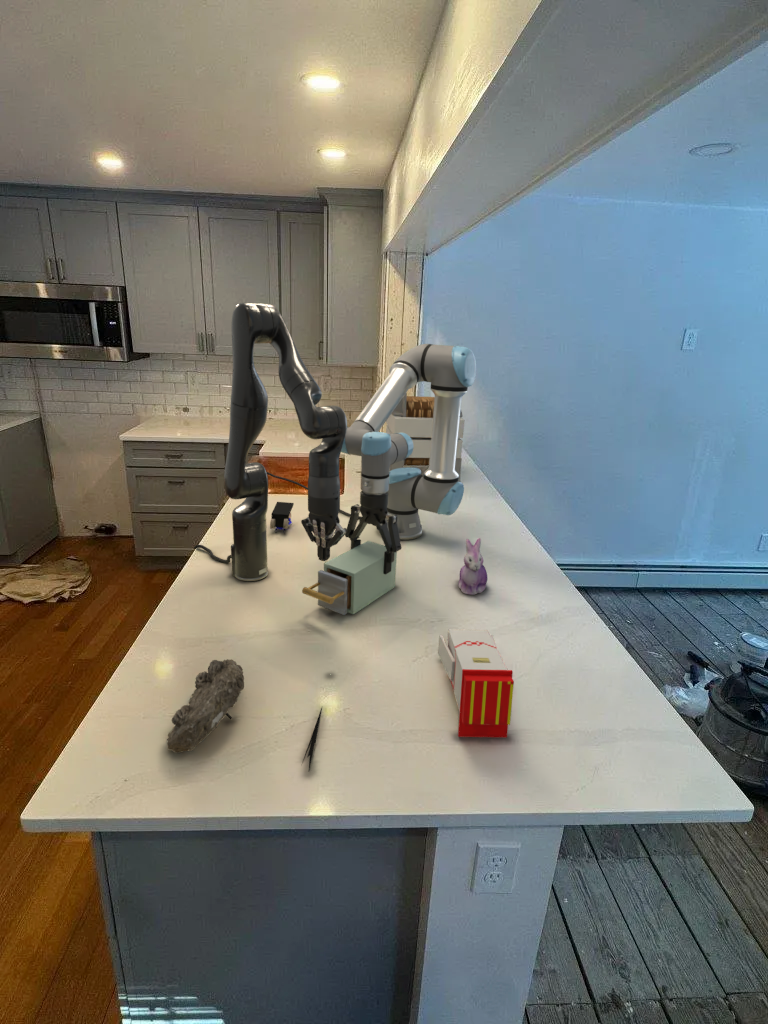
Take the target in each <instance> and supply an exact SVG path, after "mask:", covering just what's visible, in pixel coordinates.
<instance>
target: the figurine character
mask: <svg viewBox="0 0 768 1024" xmlns="http://www.w3.org/2000/svg"><path fill="white" fill-rule="evenodd" d="M293 508H294V502H287V501H285V502H284V501H276V504H275V505H274V508H273V510H272V512H271V515H270V516H271V518H270V520H269V521H270V522H269V529H272V530H274V533H276V534H277V533H278V530H280V531H282V534H285V533H286V531H287V530H288V529H289V528H290V525H292V511H293Z"/></svg>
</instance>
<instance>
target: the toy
mask: <svg viewBox="0 0 768 1024" xmlns="http://www.w3.org/2000/svg"><path fill="white" fill-rule="evenodd" d="M446 640H447V643H446V641H445V639H444V636H443V635H442V634H439V637H438V646H437V656H438V657H439V659H440V661H441V663H442V666H443V668H444V670H445V672H446V674H447V677H448V679H449V681H450V684H451V687H452V690H453V693H454V697H455V701H456V705H457V708H458V711H459V714H458V715H459V716H458V730H457V731H458V732H457V737H458V738H508V731H509V726H510V725H511V717H512V707H513V697H514V696H513V695H514V684H515V680H514V679H513V673H514V671H513V670H512V669H508V667H507V665H506V662H505V661H504V659H503V658H502V655H501V653H500V651H499V649H498V647H497V643H496V639H495V637H494V635H493V634H491V632H490V631H489V629H467V628H466V629H465V628H463V629H461V628H460V629H459V628H448V630H447V639H446Z"/></svg>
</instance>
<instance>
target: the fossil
mask: <svg viewBox="0 0 768 1024" xmlns="http://www.w3.org/2000/svg"><path fill="white" fill-rule="evenodd" d="M243 670H244V669H243V667H242V665H240V664H237V662H236V661H235V660H234V659H232V658H231V659H227V658H226V659H224V660H223V661H222V660H217V659H212V660H211V661H210V663H209V665H208V666H207V671H201V672H199V673H198V674H197V675H196V676H195V680H194V684H195V685H194V687H195V689H194V690H193V693H192V694H191V697H190V698H189V700H188V704H184V705H182V706H181V707H180V709H177V710H176V711H175V713H174V715H173V716H172V718H171V723H172V724H173V727H172V730H171V731H170V732H168V734H167V738H166V741H167V742H166V745H167V749H168V750H169V751H173V752H174V753H176V754H178V753H182V752H188V751H189V752H192V751H193V750H195V748H196V747H197V746H199V744H200V743H201V742H203V741H204V740H205V739H206V738H207V737H208V736H209V735H210V734H211V733H212V732H214V730H215V729H217V727H218V726H219V724H220V722H221V721H222V720H223V719H224V718H225V716H226V717H227V719H229V720H233V717H232V715H230V714H229V710H230V709H231V708H234V706H235V704H236V703H237V702H238V699H239V697H240V695H241V693H242V691H243V690H245V689H244V688H245V675H244V671H243Z"/></svg>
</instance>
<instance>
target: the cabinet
mask: <svg viewBox="0 0 768 1024" xmlns="http://www.w3.org/2000/svg"><path fill="white" fill-rule="evenodd" d="M385 551H387V549H386V547H385V544H381V543H377V542H374V541H371V540H367V541H364V542H363V543H361V545H359V546H357V547H355V548H353V549H351V548H350V549H349V550H347V551H345V552H343V553H341V554H339V555H337V556H336V557H333V558H331V559H330V560H329V559H328V560H326V561H325V562H324V563H323V571H326V572H327V570H328V569H333V570H336V571H338V572H341V573H344V574H347V575H350V576H351V607H350V608H348V609H347V614H349V615H355V614H356V613H359V612H360V611H362V609H364V608H366V607H367V606H369V605H370V604H373V602H375V601H376V600H378V599H379V598H381V597H383V596H384V595H385V594H387V593H389V592H390V591H391V590H393V589H394V588H395V587H396V573H397V558H398V557H397V556H398V555H397V554H398V551H397V552H395V554H394V562H392V566H391V572H389V573H387V574H384V552H385Z"/></svg>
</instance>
